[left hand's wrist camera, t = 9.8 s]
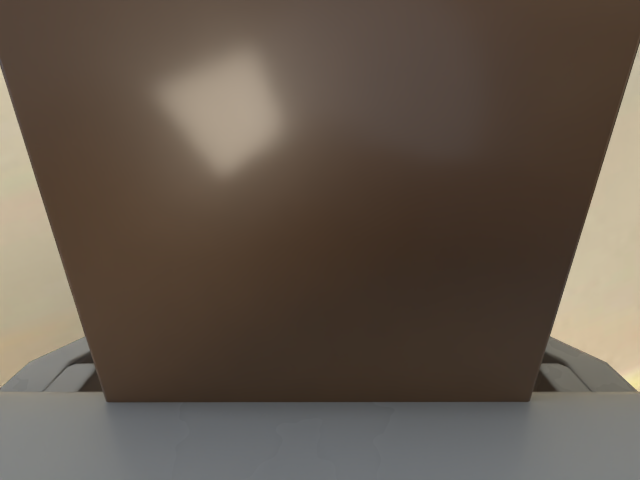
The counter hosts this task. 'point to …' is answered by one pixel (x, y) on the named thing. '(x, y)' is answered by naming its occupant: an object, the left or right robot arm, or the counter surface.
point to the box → (317, 186)
